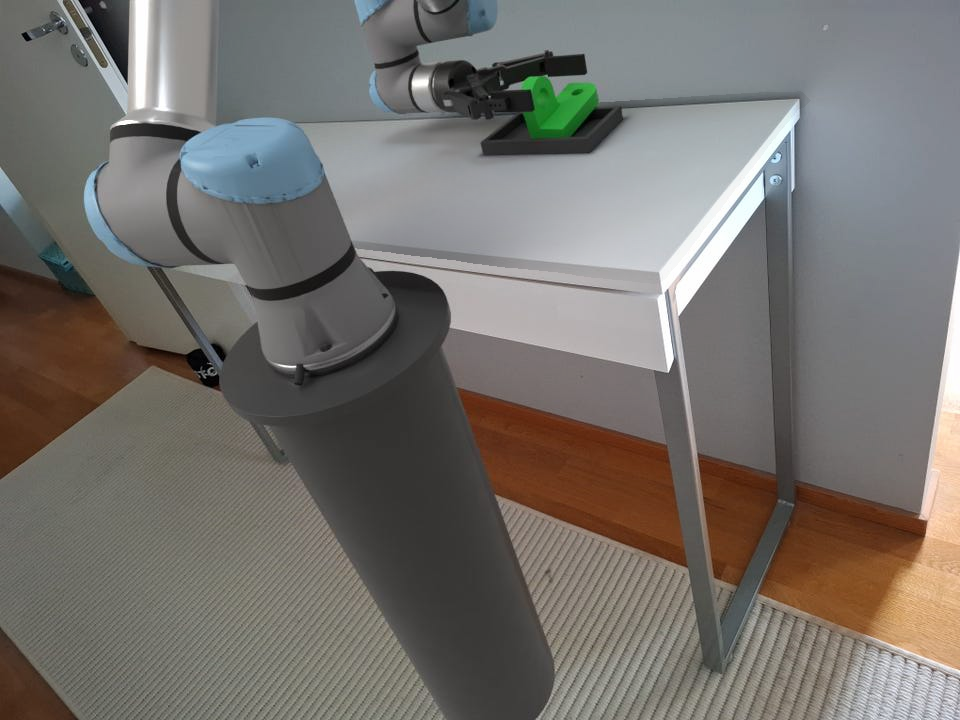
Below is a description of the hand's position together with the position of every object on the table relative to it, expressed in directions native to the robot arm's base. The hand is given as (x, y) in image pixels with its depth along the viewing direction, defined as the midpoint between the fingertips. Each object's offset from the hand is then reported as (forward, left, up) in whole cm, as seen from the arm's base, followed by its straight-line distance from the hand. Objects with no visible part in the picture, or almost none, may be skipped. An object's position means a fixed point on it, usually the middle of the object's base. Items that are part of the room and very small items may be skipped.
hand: (559, 81), depth 92 cm
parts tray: (0, +3, -8) cm, 9 cm away
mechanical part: (+4, +1, -7) cm, 8 cm away
